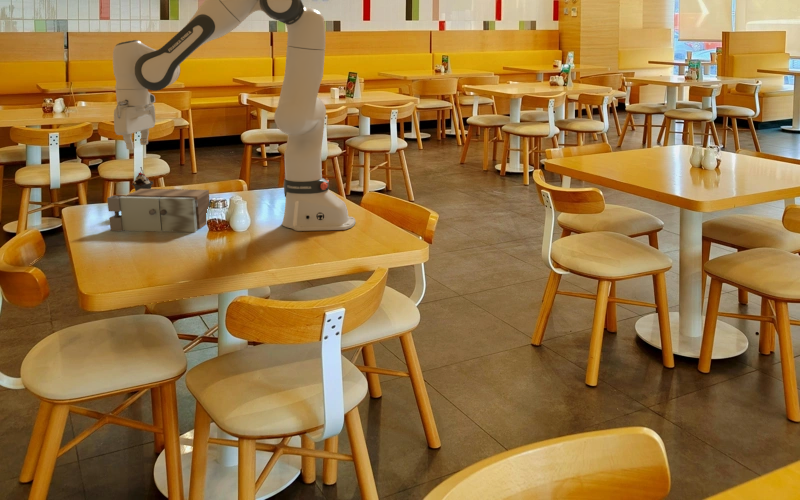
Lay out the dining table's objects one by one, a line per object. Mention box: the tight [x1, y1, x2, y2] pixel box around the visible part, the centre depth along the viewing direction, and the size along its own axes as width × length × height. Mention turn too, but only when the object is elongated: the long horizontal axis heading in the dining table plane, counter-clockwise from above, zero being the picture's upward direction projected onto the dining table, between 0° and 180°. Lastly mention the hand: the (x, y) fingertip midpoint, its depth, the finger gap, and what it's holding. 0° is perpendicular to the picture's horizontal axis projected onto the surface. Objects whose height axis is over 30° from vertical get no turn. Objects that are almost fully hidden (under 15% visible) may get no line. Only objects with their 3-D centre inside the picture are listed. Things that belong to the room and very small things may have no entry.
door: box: [107, 195, 163, 232], centre depth 233 cm, size 16×4×10 cm, turn 84°
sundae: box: [131, 166, 154, 192], centre depth 255 cm, size 7×7×15 cm
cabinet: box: [113, 188, 211, 233], centre depth 238 cm, size 25×15×10 cm, turn 84°
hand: (137, 146), depth 229 cm, fingers open, 8 cm apart
